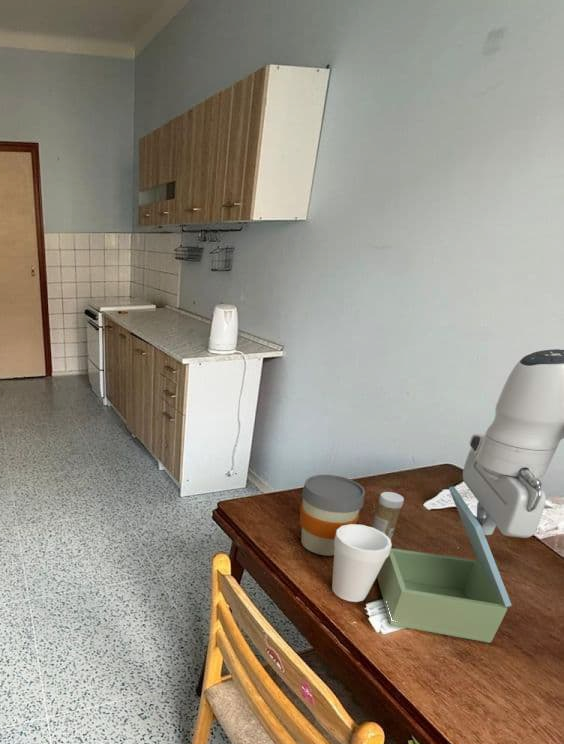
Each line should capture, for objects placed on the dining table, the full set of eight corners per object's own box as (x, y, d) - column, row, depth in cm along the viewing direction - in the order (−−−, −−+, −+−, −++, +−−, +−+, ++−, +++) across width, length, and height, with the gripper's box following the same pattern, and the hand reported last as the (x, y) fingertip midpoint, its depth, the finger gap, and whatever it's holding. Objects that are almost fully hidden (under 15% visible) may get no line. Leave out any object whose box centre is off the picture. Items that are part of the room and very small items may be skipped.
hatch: (474, 527, 74) (481, 525, 74) (448, 487, 86) (453, 485, 85) (505, 607, 78) (512, 606, 78) (476, 558, 90) (482, 557, 90)
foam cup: (324, 572, 100) (336, 520, 94) (372, 582, 97) (388, 529, 91) (323, 600, 92) (336, 546, 86) (376, 612, 89) (393, 557, 83)
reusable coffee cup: (315, 523, 117) (326, 469, 110) (362, 547, 107) (378, 490, 100) (281, 540, 111) (291, 484, 104) (328, 567, 102) (343, 507, 94)
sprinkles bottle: (392, 552, 106) (409, 500, 99) (372, 553, 106) (387, 501, 99) (381, 541, 110) (396, 490, 103) (362, 542, 110) (376, 491, 103)
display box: (390, 624, 86) (401, 591, 83) (377, 578, 98) (386, 547, 94) (490, 643, 82) (507, 608, 78) (464, 592, 94) (478, 560, 90)
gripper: (572, 489, 64) (531, 569, 71) (510, 435, 82) (482, 504, 88) (517, 483, 66) (482, 562, 73) (468, 431, 83) (444, 499, 90)
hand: (482, 530), depth 80 cm, fingers closed, pressing on hatch
